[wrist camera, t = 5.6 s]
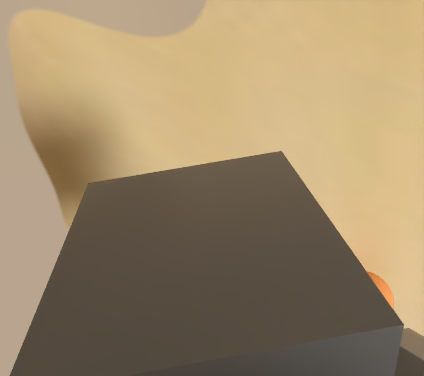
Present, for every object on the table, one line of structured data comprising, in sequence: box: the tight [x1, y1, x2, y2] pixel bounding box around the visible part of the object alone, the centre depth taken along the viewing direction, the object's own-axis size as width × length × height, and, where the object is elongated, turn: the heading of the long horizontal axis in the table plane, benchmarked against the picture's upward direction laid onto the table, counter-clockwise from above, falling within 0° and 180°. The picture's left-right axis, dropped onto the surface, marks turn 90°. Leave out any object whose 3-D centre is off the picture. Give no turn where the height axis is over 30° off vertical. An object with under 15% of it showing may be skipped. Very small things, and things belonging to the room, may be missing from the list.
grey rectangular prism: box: [10, 151, 404, 376], centre depth 11 cm, size 7×7×8 cm
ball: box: [367, 272, 394, 309], centre depth 33 cm, size 5×5×5 cm
